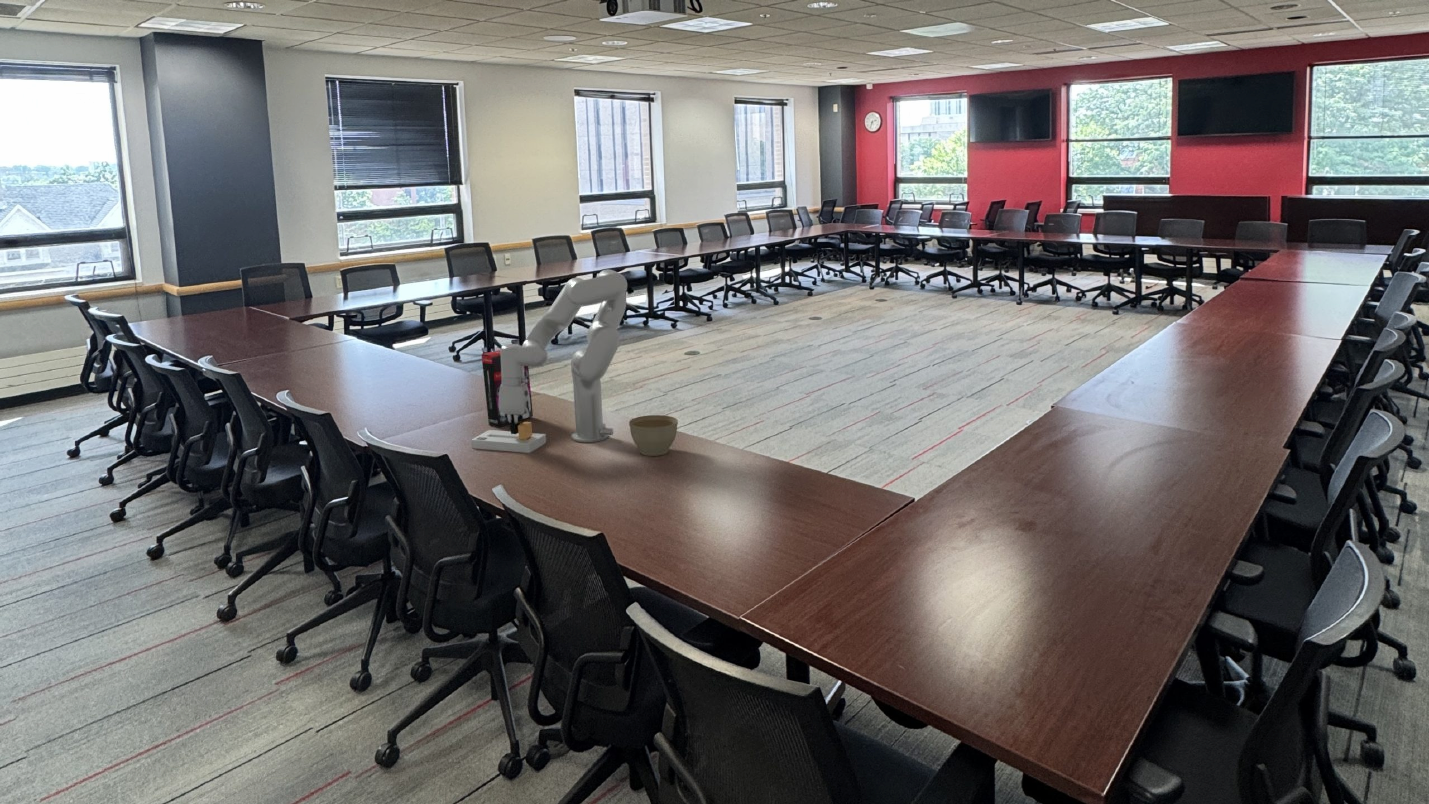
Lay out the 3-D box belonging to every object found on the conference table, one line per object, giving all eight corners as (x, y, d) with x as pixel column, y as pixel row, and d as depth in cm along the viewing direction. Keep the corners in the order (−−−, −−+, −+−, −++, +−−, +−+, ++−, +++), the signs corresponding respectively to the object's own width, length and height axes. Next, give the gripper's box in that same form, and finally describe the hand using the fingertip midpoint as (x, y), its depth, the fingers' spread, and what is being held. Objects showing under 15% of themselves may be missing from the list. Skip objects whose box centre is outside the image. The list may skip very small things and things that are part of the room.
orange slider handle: (533, 441, 316) (532, 422, 314) (526, 446, 311) (525, 426, 310) (525, 441, 317) (524, 421, 315) (518, 445, 312) (517, 425, 310)
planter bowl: (688, 451, 307) (687, 419, 304) (654, 463, 295) (653, 430, 293) (654, 442, 317) (653, 411, 315) (620, 453, 306) (618, 421, 303)
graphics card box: (498, 428, 337) (492, 355, 330) (486, 425, 341) (480, 353, 334) (533, 417, 350) (528, 347, 343) (521, 414, 354) (516, 345, 347)
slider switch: (546, 442, 319) (545, 433, 318) (529, 452, 308) (529, 443, 307) (489, 437, 325) (489, 429, 324) (471, 448, 314) (471, 439, 313)
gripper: (538, 380, 311) (540, 432, 315) (499, 376, 315) (501, 428, 319) (527, 385, 304) (529, 438, 308) (487, 381, 308) (490, 434, 312)
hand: (515, 433), depth 314 cm, fingers closed
